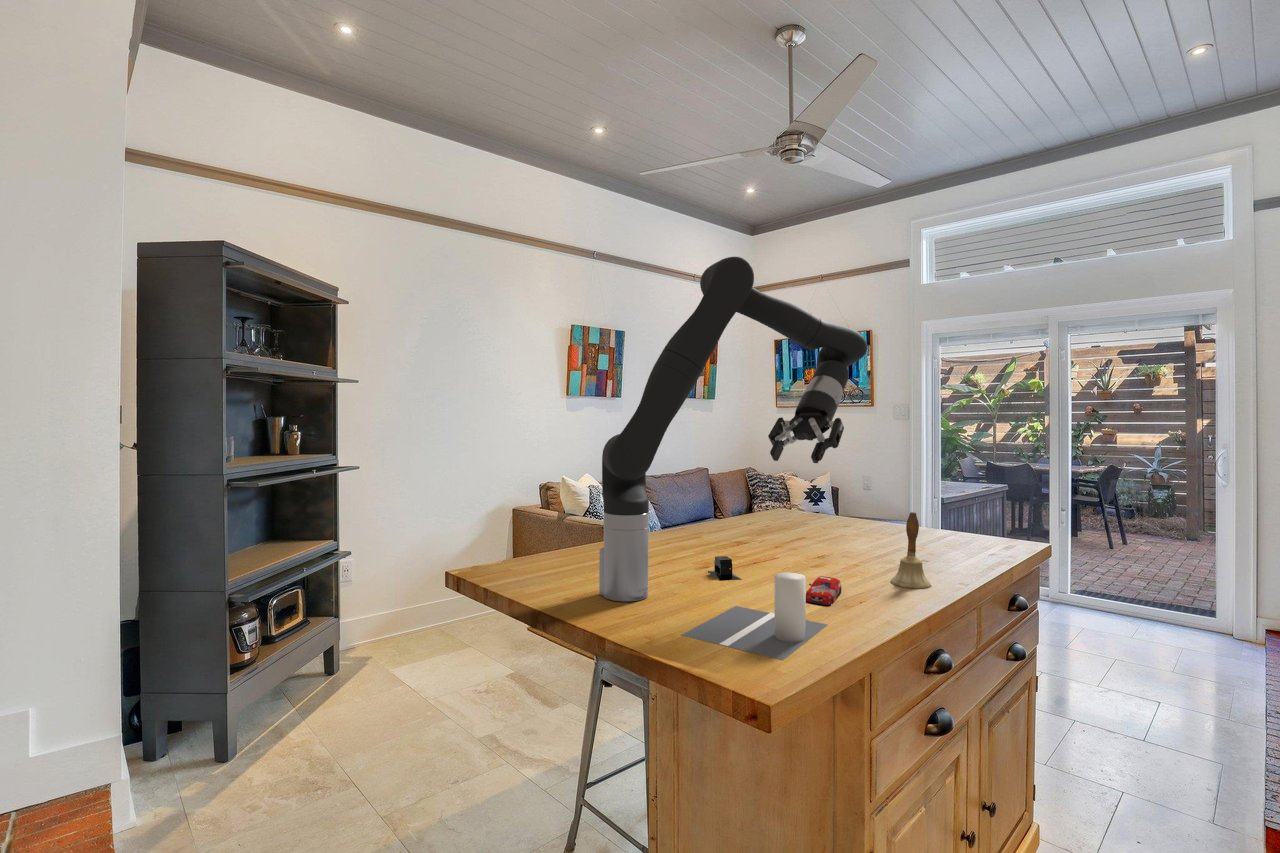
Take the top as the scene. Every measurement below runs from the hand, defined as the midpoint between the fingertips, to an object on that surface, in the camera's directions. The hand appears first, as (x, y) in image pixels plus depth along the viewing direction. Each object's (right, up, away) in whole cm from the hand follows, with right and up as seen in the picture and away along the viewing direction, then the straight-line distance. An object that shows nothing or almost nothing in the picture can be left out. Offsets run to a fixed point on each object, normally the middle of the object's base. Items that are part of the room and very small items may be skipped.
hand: (793, 459), depth 122 cm
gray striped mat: (-10, -29, -15) cm, 34 cm away
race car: (+8, -29, +6) cm, 31 cm away
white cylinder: (-5, -28, -19) cm, 34 cm away
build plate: (-11, -29, +24) cm, 39 cm away
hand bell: (+30, -29, +17) cm, 45 cm away
